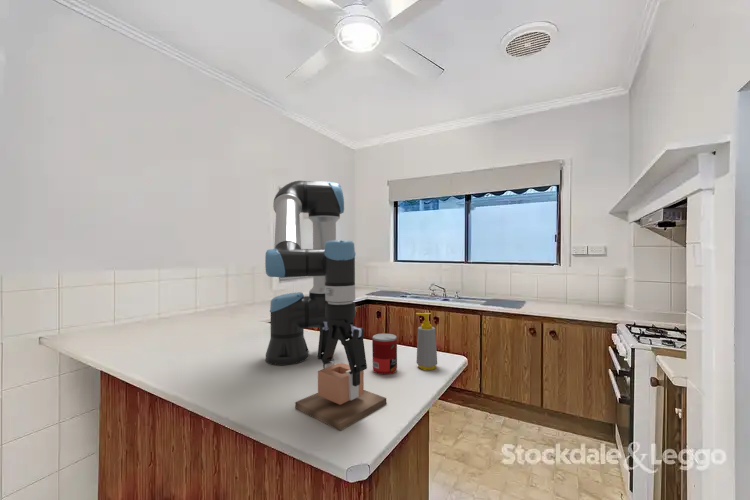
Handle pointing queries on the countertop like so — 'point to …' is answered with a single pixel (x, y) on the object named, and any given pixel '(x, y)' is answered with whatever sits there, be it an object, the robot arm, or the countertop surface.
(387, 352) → the canned food
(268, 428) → the countertop surface
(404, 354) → the countertop surface
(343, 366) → the orange open box
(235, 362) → the countertop surface
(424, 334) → the soap bottle
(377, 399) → the base plate
